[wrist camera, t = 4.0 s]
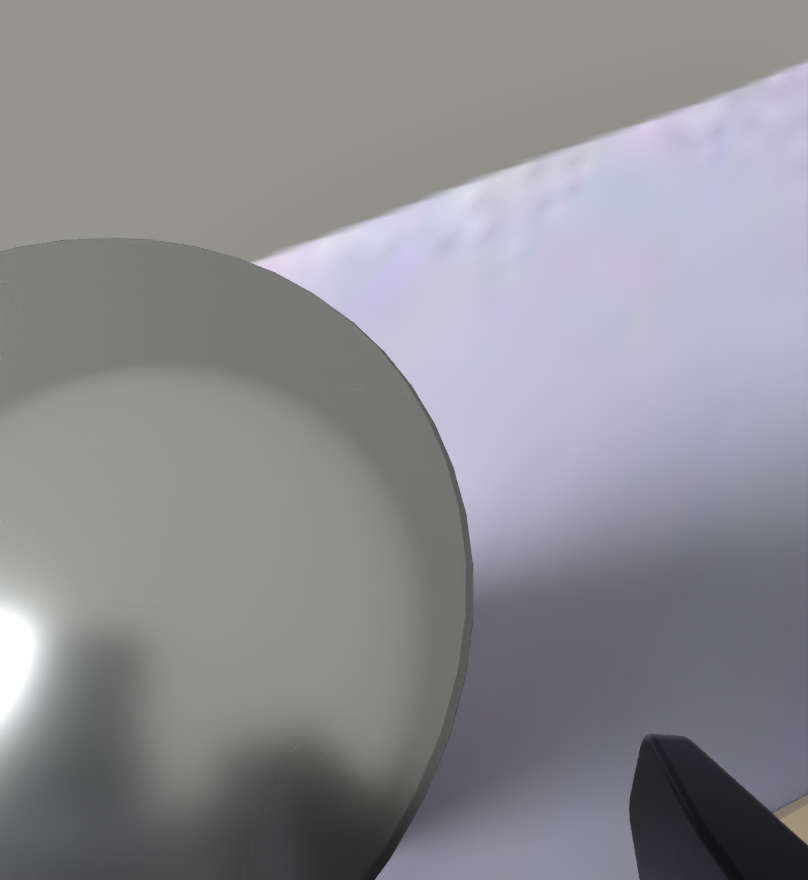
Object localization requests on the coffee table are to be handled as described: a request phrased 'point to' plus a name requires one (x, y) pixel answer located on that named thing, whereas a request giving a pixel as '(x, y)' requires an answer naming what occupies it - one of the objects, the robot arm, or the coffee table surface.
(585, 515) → the coffee table surface
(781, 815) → the jig
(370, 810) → the metal canister
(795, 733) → the coffee table surface
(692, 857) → the robot arm
